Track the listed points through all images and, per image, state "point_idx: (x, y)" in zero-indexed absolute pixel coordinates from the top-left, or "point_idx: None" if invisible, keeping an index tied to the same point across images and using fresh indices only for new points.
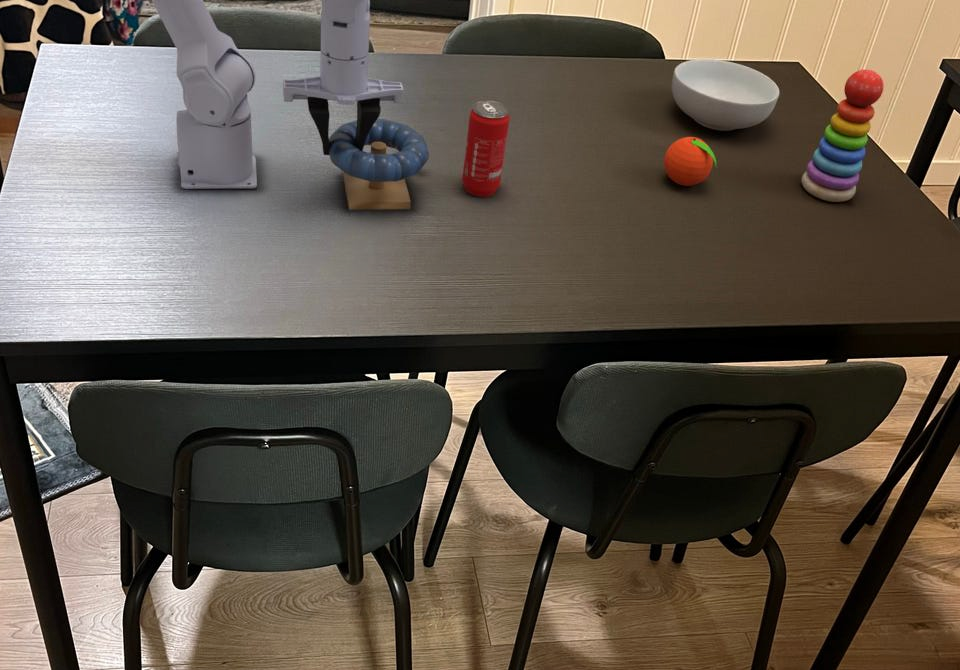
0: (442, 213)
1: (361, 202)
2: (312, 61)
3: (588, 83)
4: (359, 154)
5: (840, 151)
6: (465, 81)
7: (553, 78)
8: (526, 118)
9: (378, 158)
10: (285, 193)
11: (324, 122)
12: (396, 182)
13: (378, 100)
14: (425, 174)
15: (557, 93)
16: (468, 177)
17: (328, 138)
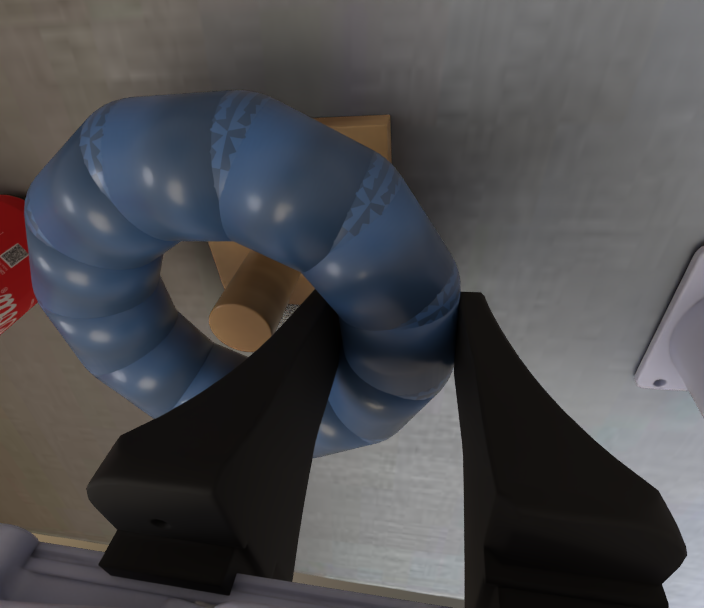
0: (79, 99)
1: (341, 126)
2: (420, 579)
3: (4, 496)
4: (302, 220)
5: None
6: None
7: (56, 509)
8: (50, 443)
9: (190, 181)
10: (599, 218)
11: (518, 431)
12: (234, 244)
13: (109, 562)
14: (181, 297)
15: (34, 485)
16: (9, 237)
17: (471, 347)
